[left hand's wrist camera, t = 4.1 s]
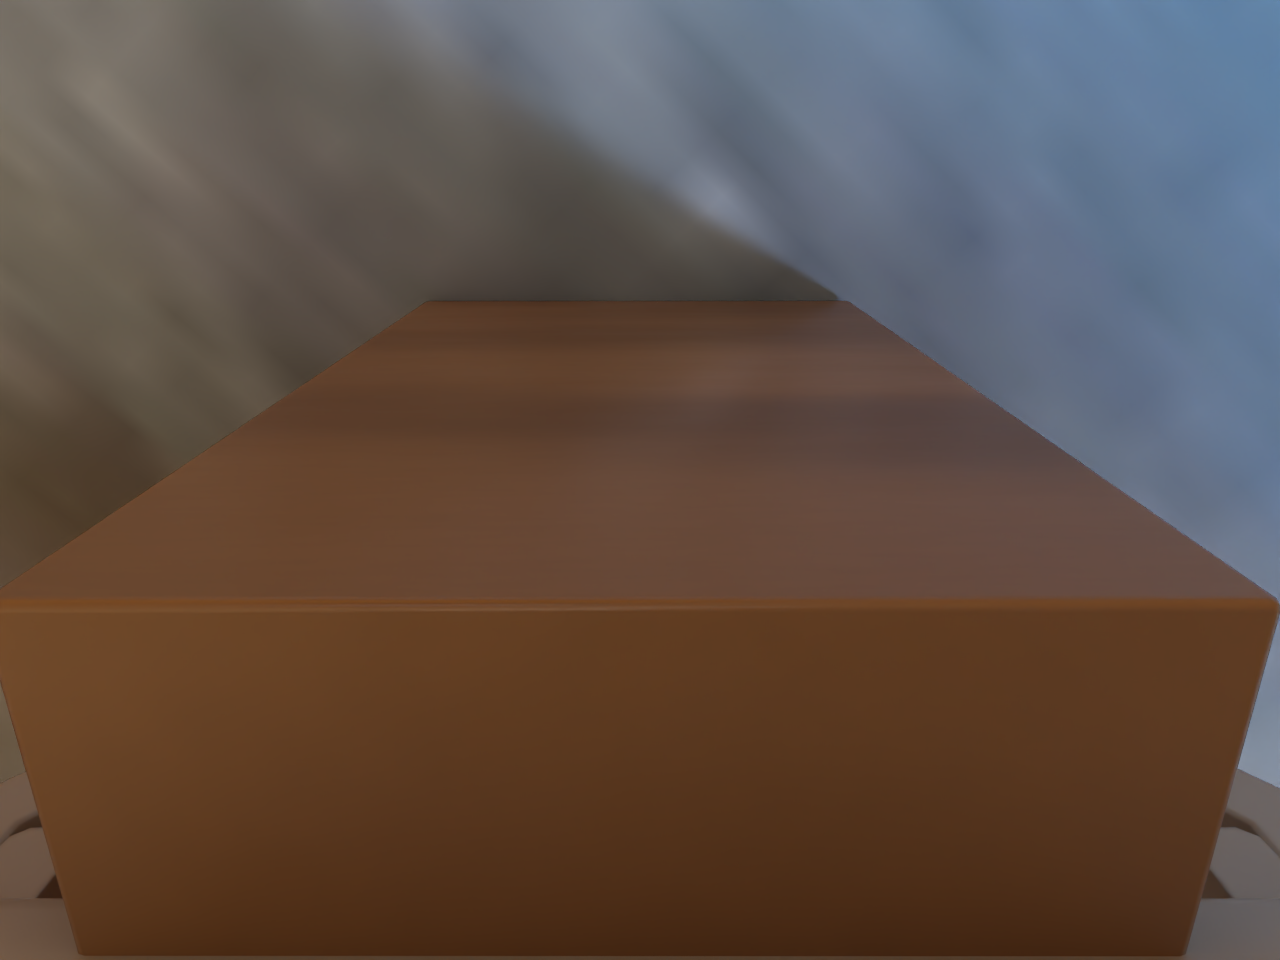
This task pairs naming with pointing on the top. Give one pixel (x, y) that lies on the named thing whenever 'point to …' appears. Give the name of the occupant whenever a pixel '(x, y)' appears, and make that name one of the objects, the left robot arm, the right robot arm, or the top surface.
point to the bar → (633, 661)
